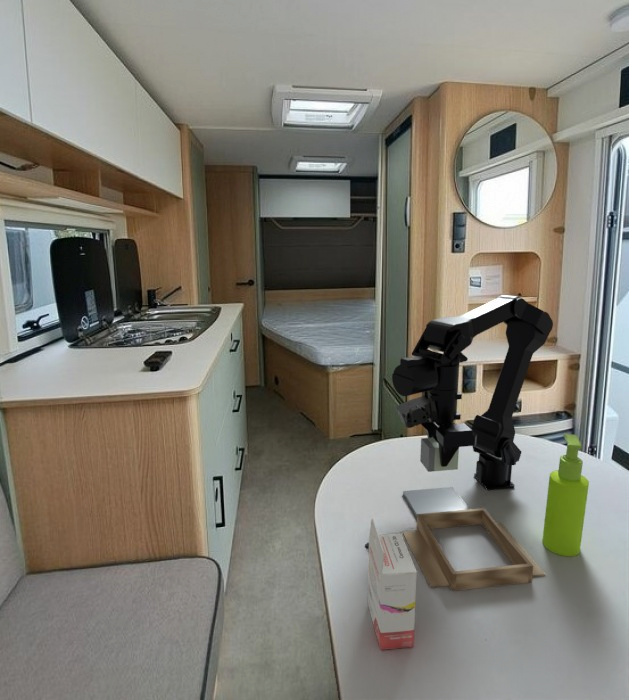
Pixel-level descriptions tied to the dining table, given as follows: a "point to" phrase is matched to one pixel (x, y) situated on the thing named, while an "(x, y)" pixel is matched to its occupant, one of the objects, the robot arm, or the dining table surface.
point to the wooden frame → (444, 574)
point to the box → (435, 456)
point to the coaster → (434, 500)
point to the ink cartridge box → (391, 590)
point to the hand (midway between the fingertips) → (439, 460)
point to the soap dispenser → (566, 503)
